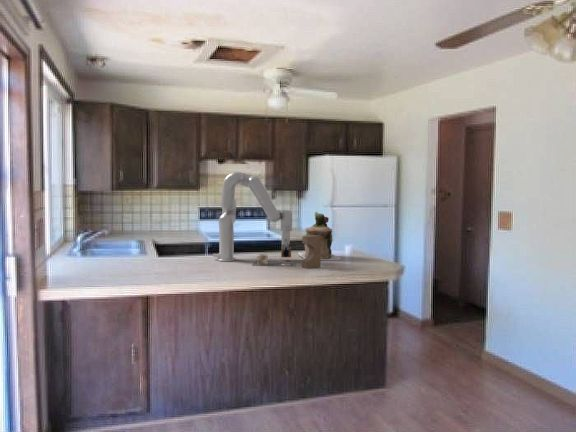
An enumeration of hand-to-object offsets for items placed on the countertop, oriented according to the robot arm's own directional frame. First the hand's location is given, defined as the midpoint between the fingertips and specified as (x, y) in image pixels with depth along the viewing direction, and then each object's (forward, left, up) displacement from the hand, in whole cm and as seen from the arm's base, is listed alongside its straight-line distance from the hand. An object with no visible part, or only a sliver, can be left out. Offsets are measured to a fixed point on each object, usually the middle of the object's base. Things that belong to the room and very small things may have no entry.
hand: (286, 254), depth 331 cm
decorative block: (+16, -21, -4) cm, 27 cm away
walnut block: (0, 0, -1) cm, 1 cm away
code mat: (-8, -14, -4) cm, 16 cm away
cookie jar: (+23, +14, -4) cm, 27 cm away
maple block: (-15, -14, -4) cm, 21 cm away
